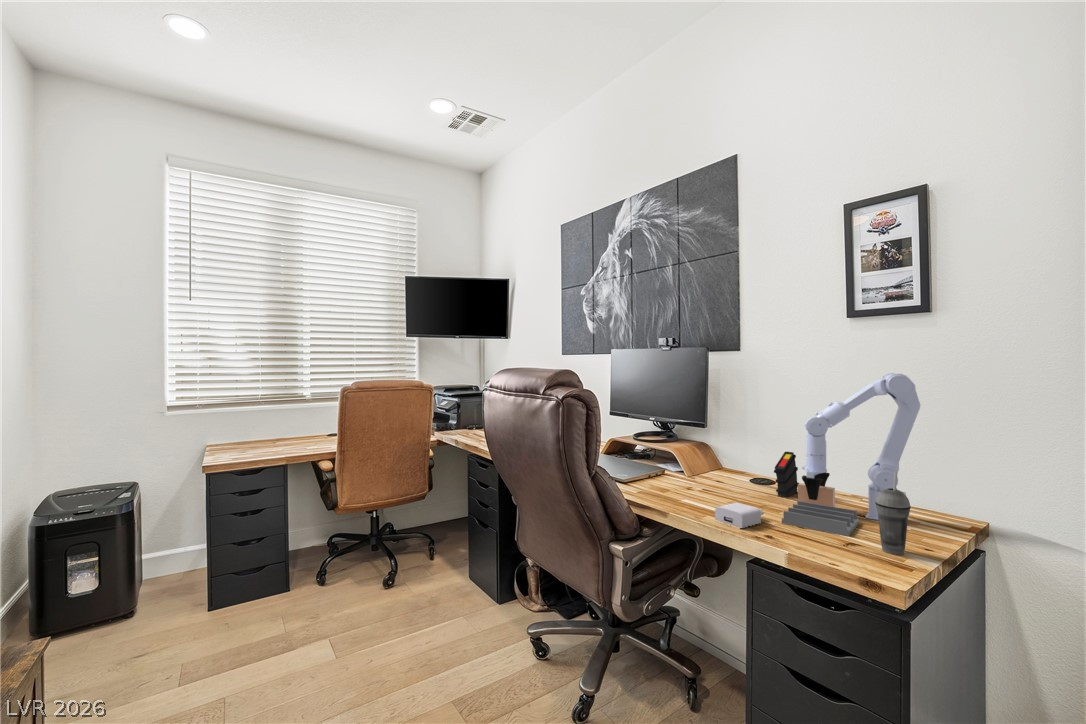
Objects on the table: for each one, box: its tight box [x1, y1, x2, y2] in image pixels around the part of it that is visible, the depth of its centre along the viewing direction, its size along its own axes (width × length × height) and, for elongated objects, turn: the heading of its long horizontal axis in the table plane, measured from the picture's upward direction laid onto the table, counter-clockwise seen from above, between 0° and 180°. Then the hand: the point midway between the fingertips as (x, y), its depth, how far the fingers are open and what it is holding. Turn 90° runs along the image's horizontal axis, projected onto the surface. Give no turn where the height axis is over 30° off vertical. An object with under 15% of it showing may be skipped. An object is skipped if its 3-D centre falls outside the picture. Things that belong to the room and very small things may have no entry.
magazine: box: [773, 451, 800, 498], centre depth 178 cm, size 4×13×15 cm, turn 133°
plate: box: [797, 482, 836, 507], centre depth 158 cm, size 10×3×8 cm, turn 48°
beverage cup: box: [875, 472, 911, 556], centre depth 123 cm, size 7×7×20 cm
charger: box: [714, 502, 765, 529], centre depth 147 cm, size 5×9×15 cm
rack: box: [781, 500, 860, 537], centre depth 145 cm, size 17×15×4 cm
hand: (815, 497), depth 158 cm, fingers open, 7 cm apart
